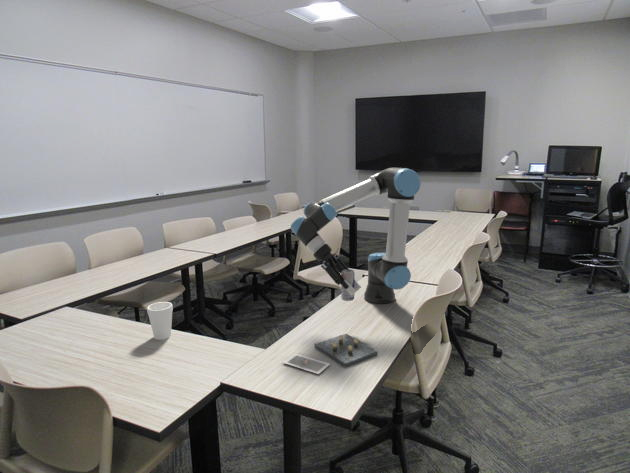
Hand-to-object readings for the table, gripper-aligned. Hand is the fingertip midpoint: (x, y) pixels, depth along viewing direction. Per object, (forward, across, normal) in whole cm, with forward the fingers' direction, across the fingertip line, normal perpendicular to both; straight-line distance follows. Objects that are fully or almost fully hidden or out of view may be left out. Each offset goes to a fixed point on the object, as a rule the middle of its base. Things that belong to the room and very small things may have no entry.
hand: (356, 291), depth 170 cm
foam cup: (-37, +39, -60) cm, 81 cm away
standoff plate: (+14, +20, -9) cm, 26 cm away
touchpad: (+8, +35, -16) cm, 39 cm away
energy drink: (0, 0, -5) cm, 5 cm away
